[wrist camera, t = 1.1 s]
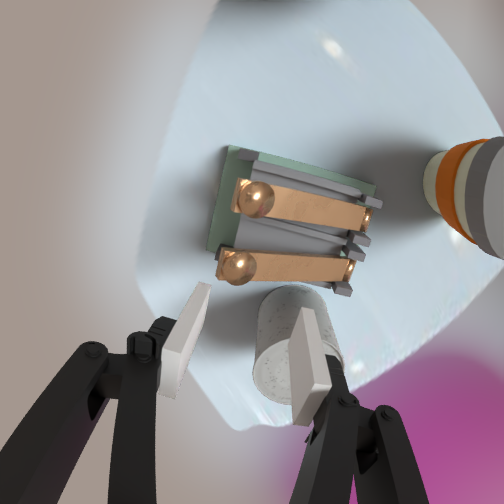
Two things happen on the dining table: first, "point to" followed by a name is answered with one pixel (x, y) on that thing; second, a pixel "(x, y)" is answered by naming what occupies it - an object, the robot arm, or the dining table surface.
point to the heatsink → (282, 230)
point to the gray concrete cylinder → (286, 338)
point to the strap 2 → (281, 266)
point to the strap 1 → (297, 206)
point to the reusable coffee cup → (470, 191)
